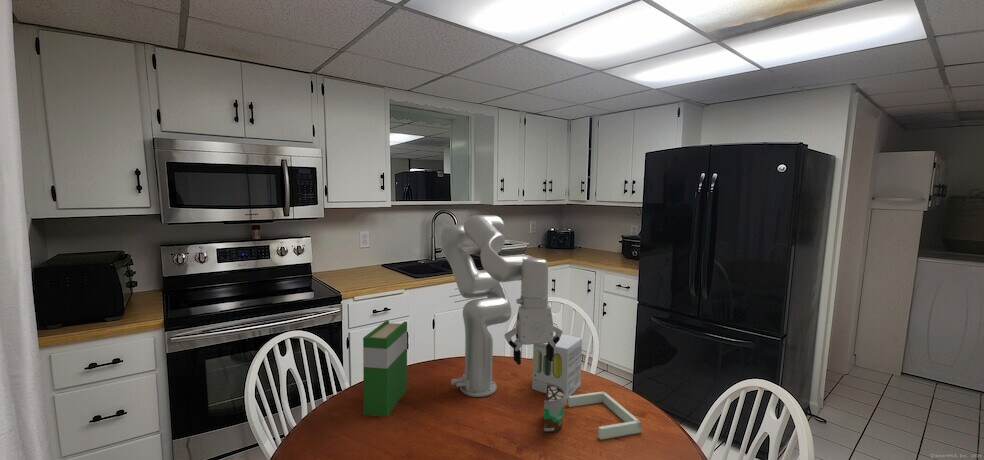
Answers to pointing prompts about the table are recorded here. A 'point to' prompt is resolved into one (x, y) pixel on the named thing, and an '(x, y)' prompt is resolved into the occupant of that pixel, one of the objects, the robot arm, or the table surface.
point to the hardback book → (384, 367)
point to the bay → (615, 430)
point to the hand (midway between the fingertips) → (533, 361)
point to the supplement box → (558, 365)
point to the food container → (554, 408)
